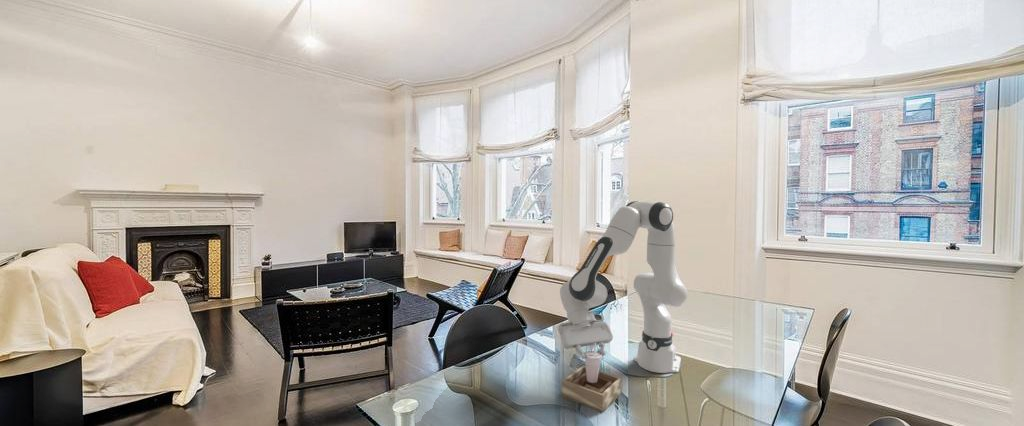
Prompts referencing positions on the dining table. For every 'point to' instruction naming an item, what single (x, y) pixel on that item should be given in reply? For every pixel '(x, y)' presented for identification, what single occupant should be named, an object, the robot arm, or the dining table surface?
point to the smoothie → (592, 365)
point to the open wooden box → (592, 389)
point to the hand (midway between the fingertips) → (593, 356)
